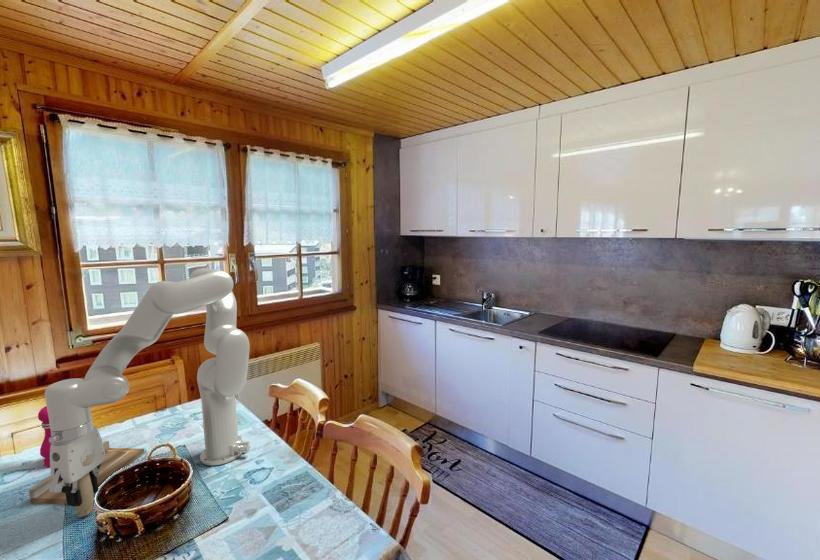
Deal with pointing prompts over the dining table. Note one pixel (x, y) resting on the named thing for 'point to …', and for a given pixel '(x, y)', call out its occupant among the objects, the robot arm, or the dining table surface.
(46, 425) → the pepper mill
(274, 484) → the dining table surface
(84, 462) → the handle
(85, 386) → the robot arm
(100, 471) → the board
